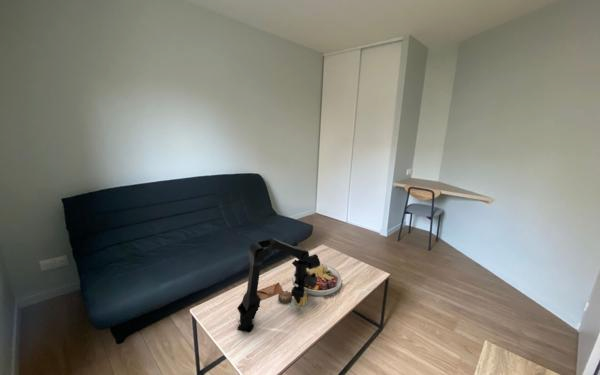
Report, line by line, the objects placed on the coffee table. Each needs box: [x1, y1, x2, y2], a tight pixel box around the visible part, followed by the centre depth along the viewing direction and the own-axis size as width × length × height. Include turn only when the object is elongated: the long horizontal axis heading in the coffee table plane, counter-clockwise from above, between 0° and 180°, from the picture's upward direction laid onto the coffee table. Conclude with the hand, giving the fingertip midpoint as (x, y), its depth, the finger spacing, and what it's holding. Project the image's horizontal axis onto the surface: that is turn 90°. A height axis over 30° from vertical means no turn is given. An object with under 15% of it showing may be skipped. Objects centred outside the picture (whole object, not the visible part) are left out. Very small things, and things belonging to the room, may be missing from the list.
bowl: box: [292, 263, 343, 297], centre depth 147 cm, size 30×30×8 cm
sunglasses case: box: [257, 282, 284, 301], centre depth 135 cm, size 18×7×7 cm, turn 127°
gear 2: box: [294, 292, 308, 308], centre depth 128 cm, size 7×7×5 cm
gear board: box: [276, 296, 309, 309], centre depth 129 cm, size 8×16×6 cm, turn 79°
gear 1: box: [277, 290, 292, 304], centre depth 129 cm, size 7×7×4 cm
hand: (300, 297), depth 128 cm, fingers open, 9 cm apart
